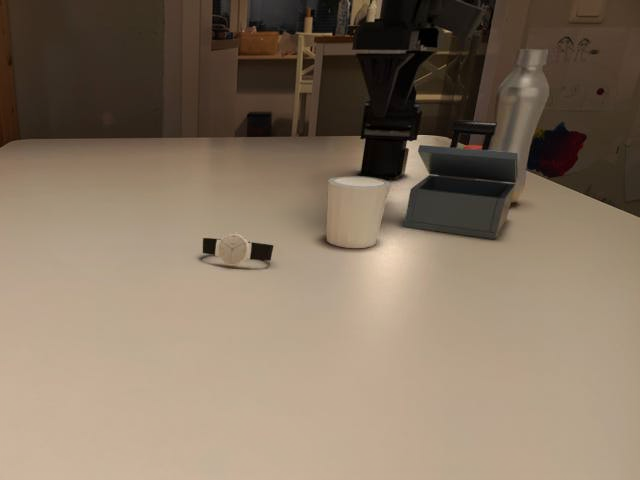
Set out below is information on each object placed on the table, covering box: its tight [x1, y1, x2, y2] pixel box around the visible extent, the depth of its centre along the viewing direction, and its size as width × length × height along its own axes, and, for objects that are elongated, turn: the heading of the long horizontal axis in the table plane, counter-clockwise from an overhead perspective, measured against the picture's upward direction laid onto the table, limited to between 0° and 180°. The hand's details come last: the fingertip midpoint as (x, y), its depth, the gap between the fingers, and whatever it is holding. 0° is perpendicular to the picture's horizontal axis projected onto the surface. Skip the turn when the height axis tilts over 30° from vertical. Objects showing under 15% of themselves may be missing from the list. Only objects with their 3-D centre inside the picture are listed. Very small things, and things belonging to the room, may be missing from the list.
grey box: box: [403, 174, 516, 240], centre depth 79 cm, size 10×11×5 cm
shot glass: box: [326, 175, 391, 249], centre depth 71 cm, size 7×7×7 cm
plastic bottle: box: [476, 48, 550, 203], centre depth 85 cm, size 6×7×20 cm
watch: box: [202, 230, 274, 266], centre depth 66 cm, size 8×5×4 cm, turn 68°
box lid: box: [417, 119, 518, 183], centre depth 76 cm, size 11×11×4 cm
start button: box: [463, 144, 483, 150], centre depth 105 cm, size 4×4×2 cm
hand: (389, 113), depth 78 cm, fingers open, 9 cm apart
